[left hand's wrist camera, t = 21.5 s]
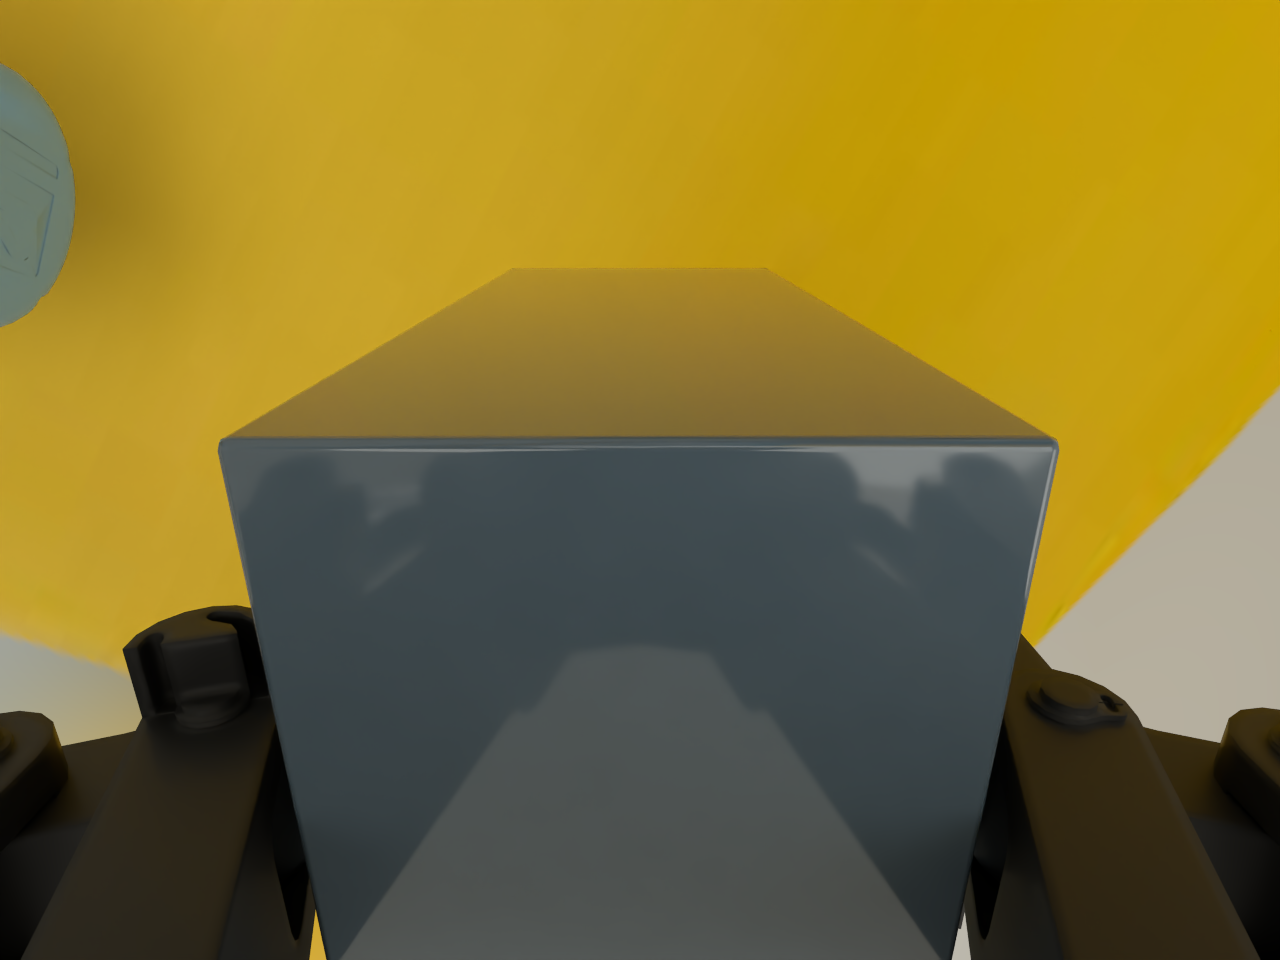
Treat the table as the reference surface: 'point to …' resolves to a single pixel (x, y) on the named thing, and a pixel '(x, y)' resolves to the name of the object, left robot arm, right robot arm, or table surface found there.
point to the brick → (638, 624)
